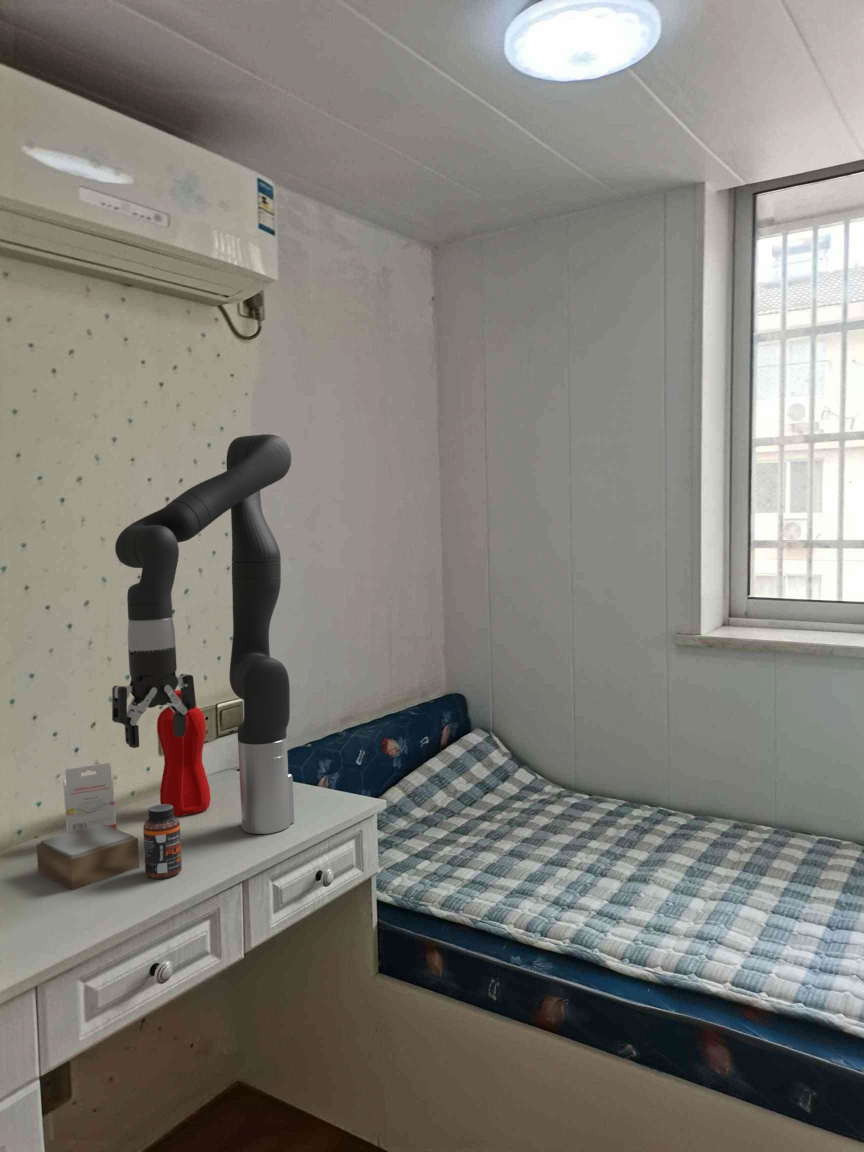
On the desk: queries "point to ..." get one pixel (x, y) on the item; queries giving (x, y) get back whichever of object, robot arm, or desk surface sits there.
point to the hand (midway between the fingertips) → (156, 741)
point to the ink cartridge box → (89, 797)
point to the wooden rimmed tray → (87, 855)
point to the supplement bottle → (162, 842)
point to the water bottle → (183, 763)
